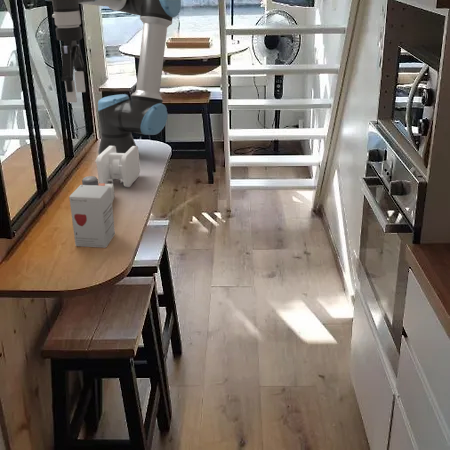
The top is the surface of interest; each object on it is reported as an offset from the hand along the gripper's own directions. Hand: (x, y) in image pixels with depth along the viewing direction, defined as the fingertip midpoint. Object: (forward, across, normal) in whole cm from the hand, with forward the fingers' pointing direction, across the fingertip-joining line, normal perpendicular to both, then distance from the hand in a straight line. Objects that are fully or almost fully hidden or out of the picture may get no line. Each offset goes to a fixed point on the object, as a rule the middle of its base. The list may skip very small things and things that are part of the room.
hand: (76, 97), depth 190 cm
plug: (+30, +20, +6) cm, 37 cm away
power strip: (+32, +14, +6) cm, 35 cm away
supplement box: (+32, +37, +9) cm, 50 cm away
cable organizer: (+32, -8, +10) cm, 34 cm away
